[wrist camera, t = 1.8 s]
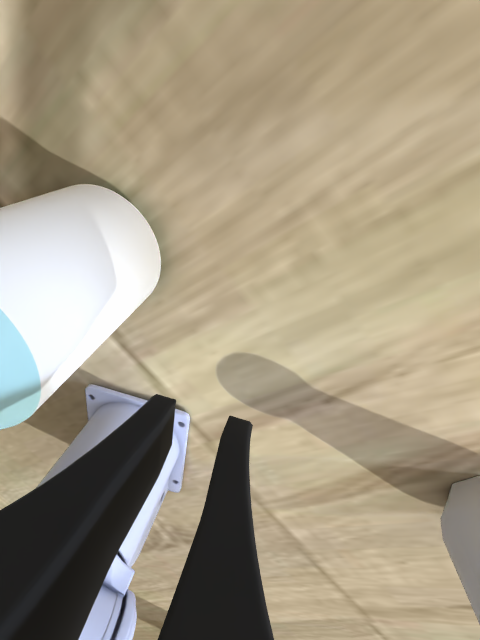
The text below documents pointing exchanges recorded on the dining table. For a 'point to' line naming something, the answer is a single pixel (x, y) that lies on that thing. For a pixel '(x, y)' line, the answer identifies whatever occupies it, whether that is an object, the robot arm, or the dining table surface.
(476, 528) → the salt shaker
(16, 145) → the dining table surface
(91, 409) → the robot arm
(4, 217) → the can
